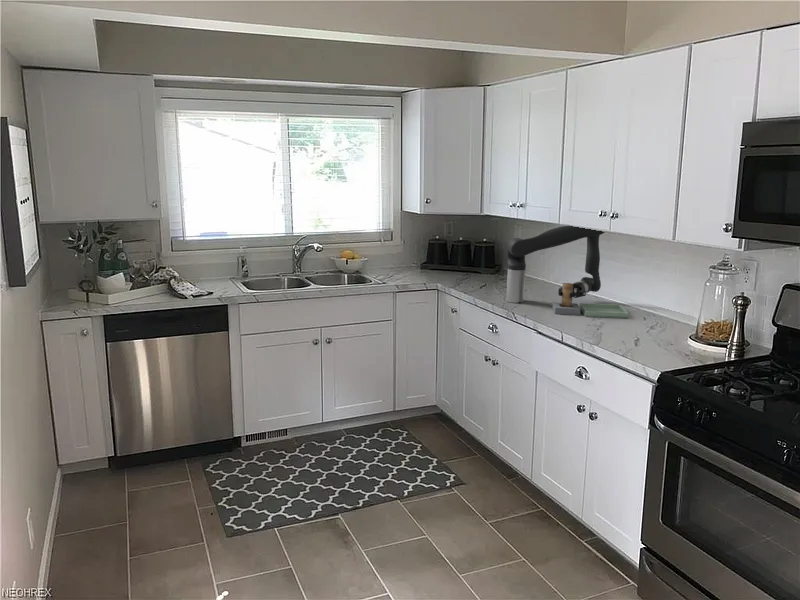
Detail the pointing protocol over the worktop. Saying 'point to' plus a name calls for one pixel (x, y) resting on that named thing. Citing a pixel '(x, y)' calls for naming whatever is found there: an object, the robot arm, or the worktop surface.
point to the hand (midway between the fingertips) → (565, 294)
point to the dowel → (566, 295)
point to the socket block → (566, 309)
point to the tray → (603, 310)
